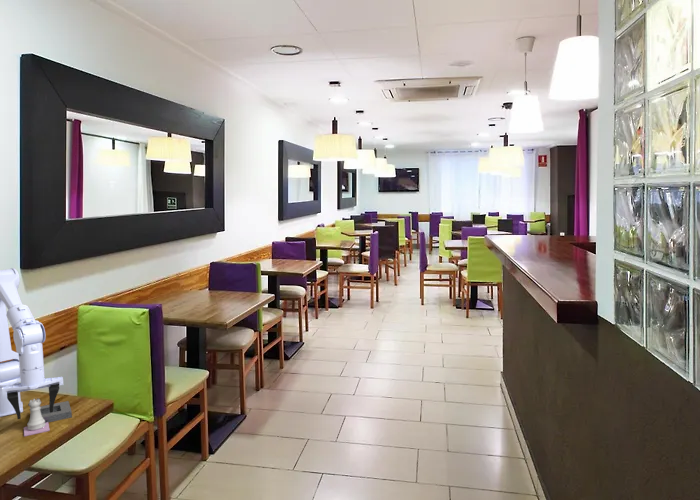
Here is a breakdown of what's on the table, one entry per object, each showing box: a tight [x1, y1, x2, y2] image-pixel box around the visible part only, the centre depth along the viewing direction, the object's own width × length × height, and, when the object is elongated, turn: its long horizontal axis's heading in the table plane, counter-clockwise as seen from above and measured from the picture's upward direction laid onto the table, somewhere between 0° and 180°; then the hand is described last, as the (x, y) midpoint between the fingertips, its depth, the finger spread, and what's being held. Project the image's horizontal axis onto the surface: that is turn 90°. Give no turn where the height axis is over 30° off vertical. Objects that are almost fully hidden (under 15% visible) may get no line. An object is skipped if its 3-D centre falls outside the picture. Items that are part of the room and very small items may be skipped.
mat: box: [23, 422, 50, 437], centre depth 144 cm, size 6×6×1 cm
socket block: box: [40, 400, 73, 423], centre depth 153 cm, size 10×10×2 cm
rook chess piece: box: [26, 398, 46, 431], centre depth 144 cm, size 4×4×8 cm
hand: (35, 414), depth 143 cm, fingers open, 7 cm apart
